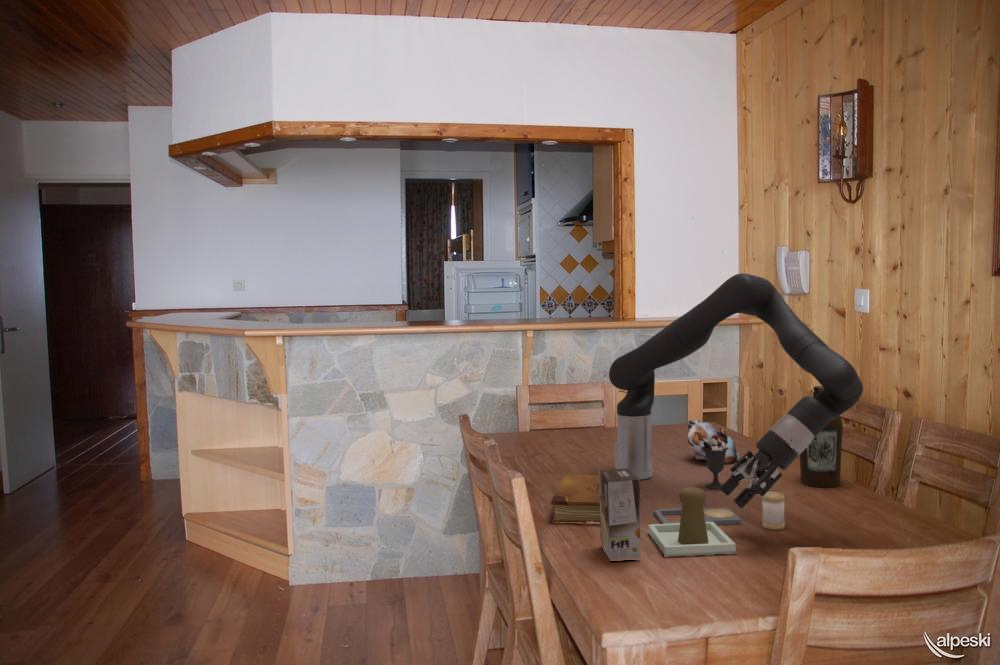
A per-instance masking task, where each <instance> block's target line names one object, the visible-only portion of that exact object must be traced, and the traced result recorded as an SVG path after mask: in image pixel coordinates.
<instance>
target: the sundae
mask: <svg viewBox="0 0 1000 665" xmlns="http://www.w3.org/2000/svg"><path fill="white" fill-rule="evenodd" d="M721 430H722V428H721V427H719V429H718V431H717V433H718V432H721ZM722 439H723V438H722V437H721V434H720V437H717V434H716V435H713V437H711V438H710V439H709V440H708V441H707V442H706V441H705V442H704V443H703V445H704V446H703V447H702V449H703V450H704V451H705V455H706V460H705V461H706V466H707V469H708V470H709V471H710V472H711V473H712V475H713V478H712V482H711V483H707V484H706V485H705V487H706V488H708V489H711V488H712V489H711V490H720V487H721V486H722V485H723V484H724V483H720V481H719V474H720V473H721V472H722V471H723V470H724V468H725V467H724V466H725V464H726V463H725V455H726V451H727V450H728V449H729V448H727V447H726V444H725V443H724V442H723V441H722Z"/></svg>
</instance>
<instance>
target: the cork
mask: <svg viewBox="0 0 1000 665" xmlns="http://www.w3.org/2000/svg"><path fill="white" fill-rule="evenodd" d="M678 498H679V502H680V503H681V509H682V511H681V514H680V521H679V522H680V528H679V536H678V542H679V543H680V544H682V545H689V544H708V536H707V529H706V523H705V516H704V509H703V508H704V504H705V502H706V493H705V491H704V490H703V489H702V488H699V487H695V486H694V487H692V486H689V487H684V488H682V489H681V490H680V492H679V496H678Z"/></svg>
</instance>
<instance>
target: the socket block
mask: <svg viewBox="0 0 1000 665" xmlns="http://www.w3.org/2000/svg"><path fill="white" fill-rule="evenodd" d="M703 509H704V516H705V522H714V523H715V524H716V525H717V526H721V525H722V524H728V525H742V519H741V518H740V517H739V516H738V515H737V514H736V513H734V512H733V510H731V508H729V507H725V506H724V507H723V506H721V507H703ZM681 511H682V508H665V509H663V508H662V509H653V515H654V514H655V515H654V516H655V517H656V519H657V518H658V519H659V520H658V519H657V520H658V521H659V523H660V524H661V523H662V524H672V523H680V521H668V519H666V518H665V516H671V515H673V516H674V515H681ZM722 526H723V525H722Z"/></svg>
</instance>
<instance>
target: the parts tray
mask: <svg viewBox="0 0 1000 665" xmlns="http://www.w3.org/2000/svg"><path fill="white" fill-rule="evenodd" d="M705 523H706V529H707V536H708V544H689V545H682V544H680V543H679V542H678V536H679V528H680V523H672V524H661V523H654V524H653V523H652V524H648V525H647V528H648V530H647V531H648V533H649V534H650V535H649V534H648V535H649V537H650V536H651V537H652V538H651V537H650V538H651V539H653V540H654V541H655V542H654V541H653V540H652V541H653V542H654V544H655V543H656V544H657V545H656V544H655V545H656V547H657V546H658V547H659V548H660V549H659V548H658V547H657V548H658V549H659V551H660V550H661V551H662V552H661V551H660V552H661V554H662V553H663V554H664V555H665V556H686V557H696V556H695V555H706V556H716V555H715V554H727V555H736V554H737V544H736V543H735V542H734V541H733V540H732V539H731V538H730V537H729V536H728V535H727V534H726V533H725V532H724V531H723V530H722V529H721V528H720V527H719V525H716V524H715V523H714V522H705ZM663 554H662V555H663ZM664 555H663V556H664ZM693 555H694V556H693Z"/></svg>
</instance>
